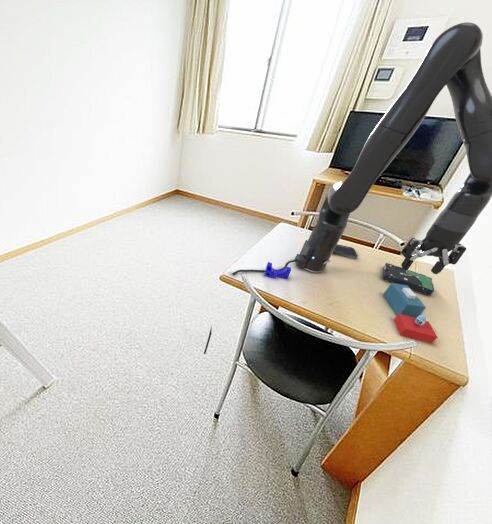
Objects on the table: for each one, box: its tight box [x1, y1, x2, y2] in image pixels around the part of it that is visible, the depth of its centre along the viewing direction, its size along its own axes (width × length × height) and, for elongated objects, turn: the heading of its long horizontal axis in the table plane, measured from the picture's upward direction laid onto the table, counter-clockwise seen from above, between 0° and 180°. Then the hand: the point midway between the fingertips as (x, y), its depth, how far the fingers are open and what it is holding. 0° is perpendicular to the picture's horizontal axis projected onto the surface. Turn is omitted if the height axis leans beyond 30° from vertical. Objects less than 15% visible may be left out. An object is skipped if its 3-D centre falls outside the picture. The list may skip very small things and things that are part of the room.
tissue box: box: [382, 282, 427, 318], centre depth 99 cm, size 5×11×7 cm, turn 169°
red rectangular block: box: [393, 314, 438, 344], centre depth 90 cm, size 8×7×6 cm
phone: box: [332, 243, 358, 260], centre depth 129 cm, size 8×1×15 cm
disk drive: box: [381, 262, 435, 296], centre depth 113 cm, size 10×3×15 cm
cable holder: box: [263, 261, 292, 280], centre depth 109 cm, size 8×4×4 cm, turn 70°
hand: (418, 270), depth 95 cm, fingers open, 8 cm apart
